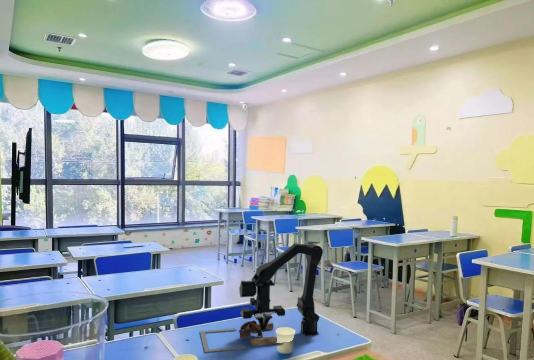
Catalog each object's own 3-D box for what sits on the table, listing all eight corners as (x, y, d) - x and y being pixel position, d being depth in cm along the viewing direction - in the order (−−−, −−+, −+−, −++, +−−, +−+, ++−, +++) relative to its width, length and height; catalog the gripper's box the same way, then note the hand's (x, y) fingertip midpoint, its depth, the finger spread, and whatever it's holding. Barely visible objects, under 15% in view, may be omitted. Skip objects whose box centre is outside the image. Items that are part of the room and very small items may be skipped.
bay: (235, 329, 170) (235, 328, 170) (244, 349, 150) (244, 348, 150) (199, 331, 166) (199, 331, 166) (204, 352, 145) (204, 351, 145)
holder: (272, 327, 173) (272, 322, 173) (283, 343, 156) (283, 337, 156) (242, 330, 169) (242, 324, 169) (251, 346, 152) (251, 340, 152)
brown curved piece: (264, 345, 155) (255, 329, 153) (244, 353, 156) (234, 337, 155) (266, 327, 166) (257, 312, 165) (247, 334, 168) (238, 319, 166)
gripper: (278, 289, 173) (277, 323, 173) (238, 291, 168) (238, 326, 168) (285, 296, 162) (285, 332, 162) (243, 299, 157) (243, 336, 157)
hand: (262, 331), depth 163 cm, fingers closed
